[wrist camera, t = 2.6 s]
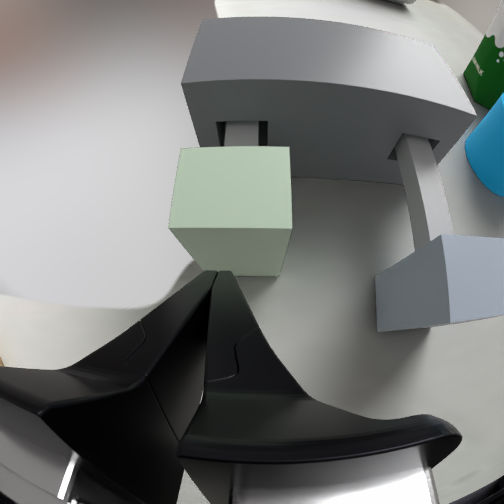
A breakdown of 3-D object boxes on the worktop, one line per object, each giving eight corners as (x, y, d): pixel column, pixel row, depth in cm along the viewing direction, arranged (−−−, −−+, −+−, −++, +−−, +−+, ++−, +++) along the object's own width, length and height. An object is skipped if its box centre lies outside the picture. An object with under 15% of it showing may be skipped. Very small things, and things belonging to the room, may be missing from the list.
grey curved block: (418, 186, 22) (477, 115, 12) (209, 176, 23) (181, 83, 13) (398, 118, 24) (434, 46, 15) (217, 107, 25) (202, 19, 15)
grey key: (433, 326, 18) (515, 312, 10) (376, 331, 19) (450, 322, 10) (404, 147, 23) (445, 81, 14) (356, 141, 23) (386, 65, 15)
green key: (279, 276, 20) (292, 228, 11) (206, 275, 20) (168, 227, 12) (277, 120, 24) (281, 37, 15) (221, 120, 24) (206, 39, 16)
